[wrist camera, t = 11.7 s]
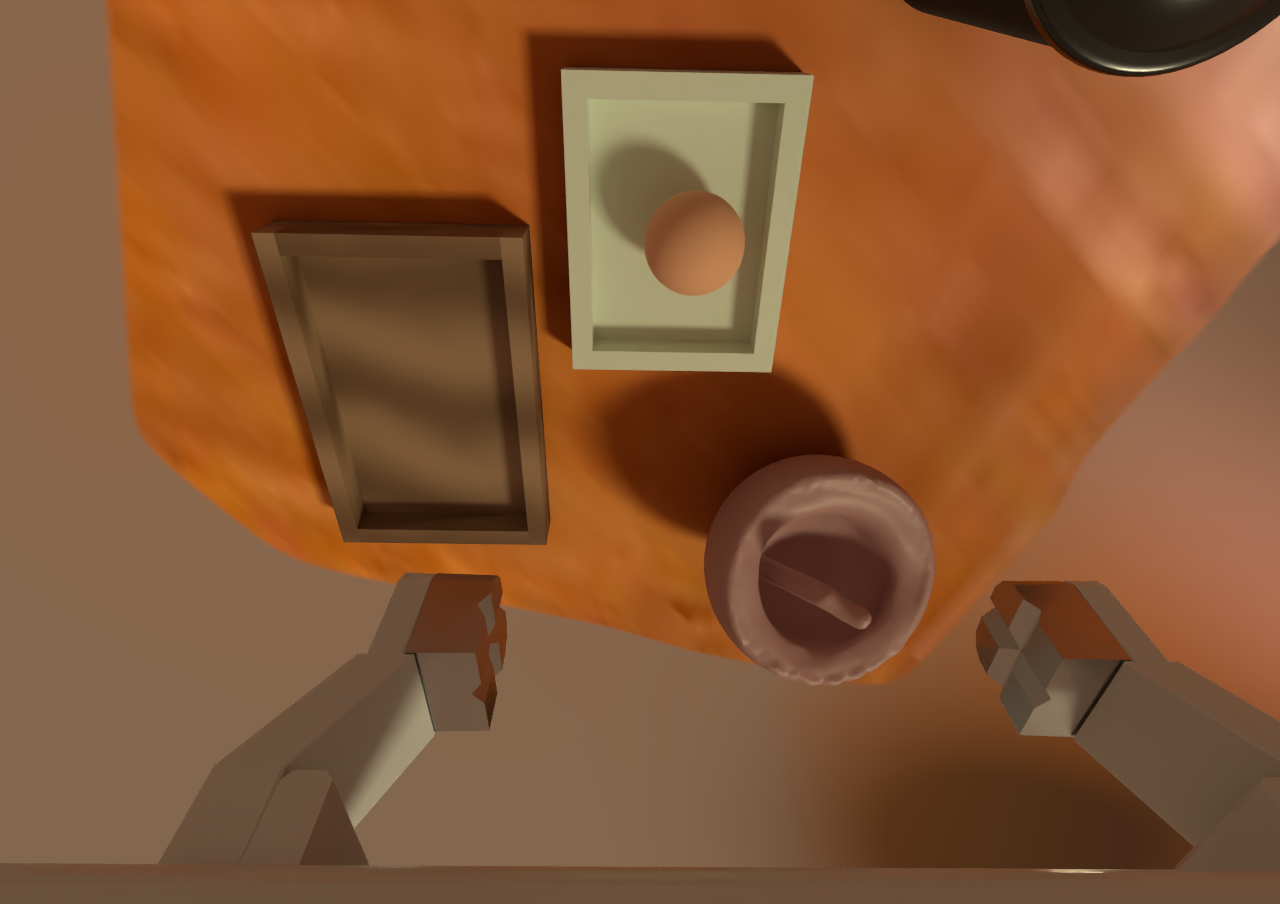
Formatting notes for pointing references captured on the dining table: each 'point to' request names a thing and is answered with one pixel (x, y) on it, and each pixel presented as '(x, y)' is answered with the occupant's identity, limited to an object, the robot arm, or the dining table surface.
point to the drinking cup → (1118, 28)
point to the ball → (694, 243)
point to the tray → (657, 170)
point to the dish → (416, 375)
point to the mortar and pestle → (819, 568)
